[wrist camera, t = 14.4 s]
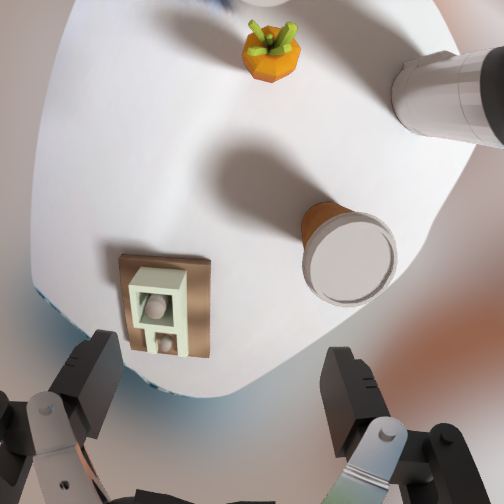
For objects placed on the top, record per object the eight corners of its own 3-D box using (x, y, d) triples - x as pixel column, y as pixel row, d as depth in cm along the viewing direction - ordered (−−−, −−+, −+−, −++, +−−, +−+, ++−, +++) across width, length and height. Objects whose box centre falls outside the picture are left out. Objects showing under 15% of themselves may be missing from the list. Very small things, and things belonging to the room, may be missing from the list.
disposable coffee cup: (290, 187, 37) (309, 214, 26) (365, 191, 37) (409, 219, 26) (285, 261, 41) (300, 312, 30) (356, 261, 41) (390, 309, 30)
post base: (122, 254, 40) (103, 275, 34) (210, 260, 40) (204, 284, 34) (133, 343, 46) (121, 371, 40) (209, 351, 46) (205, 381, 40)
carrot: (246, 94, 33) (245, 71, 19) (240, 54, 31) (235, 9, 17) (289, 89, 33) (317, 65, 19) (283, 50, 31) (306, 4, 17)
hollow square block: (140, 266, 39) (128, 284, 34) (186, 270, 39) (178, 289, 35) (149, 348, 44) (140, 371, 39) (188, 353, 44) (183, 376, 40)
